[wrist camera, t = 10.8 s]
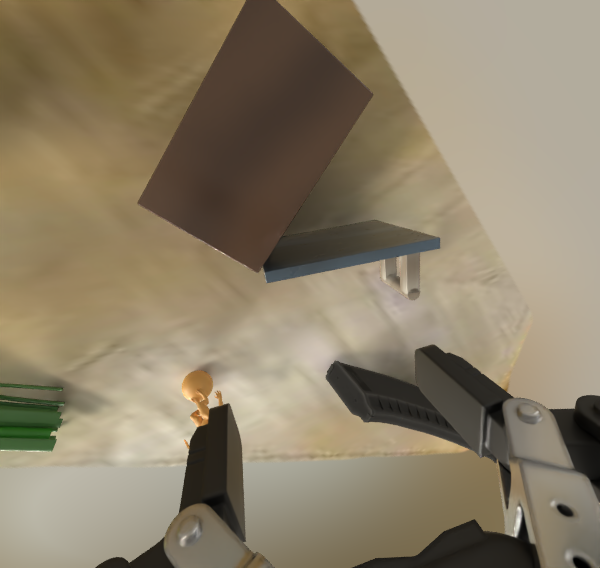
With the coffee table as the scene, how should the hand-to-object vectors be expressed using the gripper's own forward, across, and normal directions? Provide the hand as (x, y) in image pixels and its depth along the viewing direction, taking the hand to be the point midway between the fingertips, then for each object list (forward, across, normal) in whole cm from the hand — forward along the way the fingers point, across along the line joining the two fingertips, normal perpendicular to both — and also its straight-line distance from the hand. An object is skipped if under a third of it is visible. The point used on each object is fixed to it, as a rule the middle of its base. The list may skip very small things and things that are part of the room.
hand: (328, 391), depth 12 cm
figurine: (+28, +12, +17) cm, 35 cm away
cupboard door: (+27, -7, +2) cm, 28 cm away
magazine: (+27, -18, +29) cm, 43 cm away
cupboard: (+28, -1, -10) cm, 30 cm away
